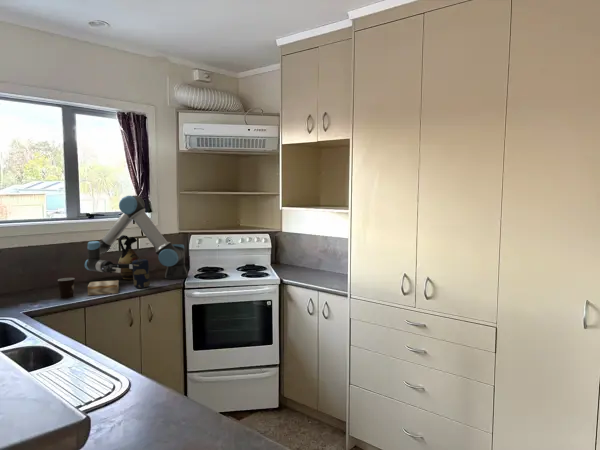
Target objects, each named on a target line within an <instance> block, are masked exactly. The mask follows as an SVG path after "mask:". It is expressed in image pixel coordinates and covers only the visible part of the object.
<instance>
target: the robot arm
mask: <svg viewBox="0 0 600 450" xmlns="http://www.w3.org/2000/svg"><path fill="white" fill-rule="evenodd" d="M118 207H119V210H120V212H121V213H122V214H121V215H120V216H119V217H118V218H117V220H116V221H115V223H113V225H112V226H111V228H109V230H108V231H107V232H106V234H104V236H102V239H101V240H100V241H96V240H94V241H93V240H92V241H88V242H87V247H86V248H87V259H86V260H85V262H84V268H85V269H86V270H87V271H92V272H101V273H110V274H112V273H117V274H119V273H121V268H129V269H133V267H132V264H131V263H130V264H119V263H113V262H112V261H111V260H103V259H101V255H103V254H106V253H108V252H109V251H110V250H111V248H110V247H112V246H113V244H115V242H116V240H117V239H119V238H120V236H121V234H122V233H123V232H124V231H125V229H126V228H127V227H128V226H129V225H130V224H131V222H133V221H134V222H135V223H136V225H137V226H138V228H139V229H140V230H141V232H142V233H143V235H144V236H146V237H145V238H146V239H147V240H148V241H149V243H150V244H151V245H152V246H153V247H154V249H155V254H156V255H157V256H158V261H159V263H160V264H161V265H162V266H164V267H166V270H165V273H164V278H165V279H166V280H168V279H169V280H180V279H182V280H183V279H185V278H188V271H187V269H186V268H187V267H186V264H185V263H186V262H185V261H186V259H185V258H186V257H185V253H186V252H185V245H184V244H180V243H179V244H174V243H172V242H171V241H167V239H166V238H165V237H164V235H163V234H162V233H161V231H160V230H159V229H158V227H157V226H156V225H155V223H153V221H152V219H151V218H150V217H149V215H148V214H147V213H146V208H145V201H144V199H143V198H142V197H141V196H139V195H126V196H122V197H121V199H120V200H119V203H118ZM109 249H110V250H109ZM108 250H109V251H108ZM107 251H108V252H107ZM105 252H106V253H105Z"/></svg>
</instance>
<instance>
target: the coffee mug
mask: <svg viewBox="0 0 600 450" xmlns="http://www.w3.org/2000/svg"><path fill="white" fill-rule="evenodd" d="M57 284H58V290H59V295H60V299H69V298H72V297H74V291H75V277H64V278H59V279H57Z"/></svg>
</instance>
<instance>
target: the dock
mask: <svg viewBox="0 0 600 450" xmlns="http://www.w3.org/2000/svg"><path fill="white" fill-rule="evenodd" d="M119 282H120V281H119V280H118V279H116V280H100V281H90V282H89V283H88V285H87V296H97V295H110V293H112V294H118V293H119V290H120V285H119V284H120V283H119Z"/></svg>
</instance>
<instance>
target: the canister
mask: <svg viewBox="0 0 600 450" xmlns="http://www.w3.org/2000/svg"><path fill="white" fill-rule="evenodd" d="M132 267H133V279H132V280H133V286H134V288H147V287H149V286H150V285H151V282H150V281H151V280H150V278H151V277H150V268H149V267H150V265H149V260H148V259H146V258H145V259H144V258H141V257H140V258H139V259H138V260H134V261H133V262H132Z"/></svg>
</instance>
